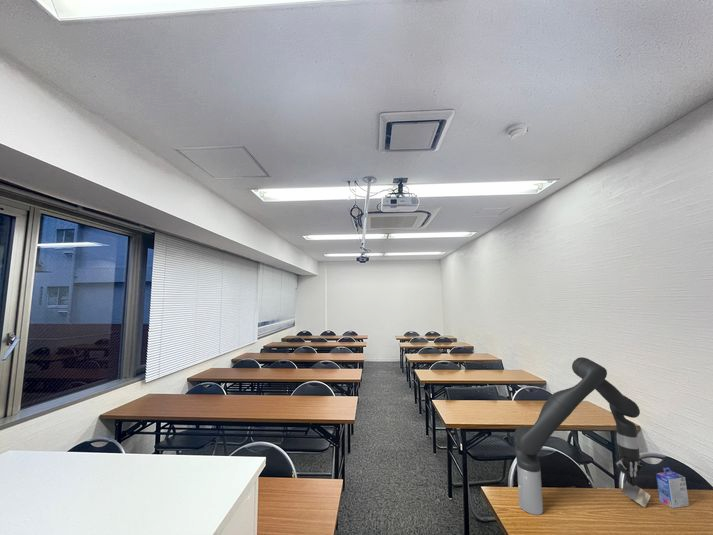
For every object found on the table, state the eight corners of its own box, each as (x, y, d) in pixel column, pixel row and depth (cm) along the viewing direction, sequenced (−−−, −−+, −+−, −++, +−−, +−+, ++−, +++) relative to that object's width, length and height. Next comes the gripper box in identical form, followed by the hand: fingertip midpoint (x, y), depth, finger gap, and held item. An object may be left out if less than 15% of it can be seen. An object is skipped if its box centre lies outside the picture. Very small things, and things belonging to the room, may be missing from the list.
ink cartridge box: (674, 498, 138) (671, 465, 139) (689, 506, 132) (685, 471, 134) (658, 500, 136) (654, 467, 137) (672, 508, 130) (668, 474, 132)
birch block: (639, 487, 132) (650, 495, 132) (626, 479, 138) (637, 487, 138) (633, 500, 131) (644, 507, 131) (621, 491, 137) (631, 498, 137)
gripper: (622, 448, 133) (626, 490, 131) (649, 447, 133) (653, 488, 131) (607, 440, 140) (610, 479, 138) (632, 440, 141) (636, 478, 139)
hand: (631, 484), depth 135 cm, fingers closed
